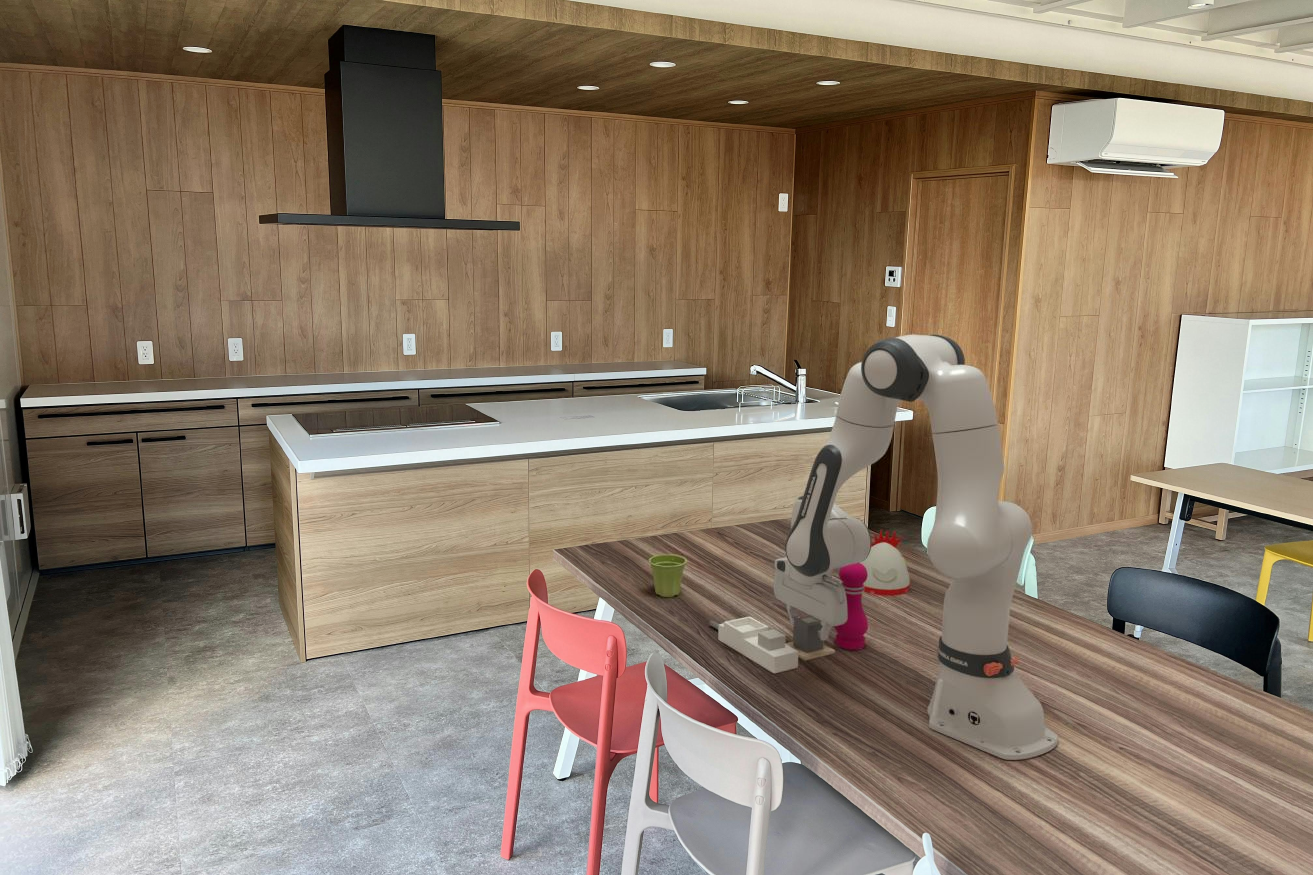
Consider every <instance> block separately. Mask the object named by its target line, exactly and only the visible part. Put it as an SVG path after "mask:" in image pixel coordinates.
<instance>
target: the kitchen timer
mask: <svg viewBox="0 0 1313 875" xmlns="http://www.w3.org/2000/svg"><path fill="white" fill-rule="evenodd" d="M879 531H880V532H879V535H878V536H877V535H876V533H874V534H873V536H874V542H873V541H872V545H871V551H870V553H869V555H868V557H867V558H866V559H865V560H864V561H862V562H859V563H861V564H863V565H864V566H865V568H866V569H867V574H868V576H867V580H866V581H865V582H864V583H863V584H864V586H865V587H864V592H863V593H866V594H870V595H875V596H882V597H883V596H884V597H886V596H889V597H891V596H892V597H893V596H900V595H904V594H906V593H908V592H909V591H910V586H911V585H910V584H911V580H910V575H909V571H908V566H907V562H908V561H907V560H906V558H904V556H903V555H902V553H901V552H900V550H899V549H898V548H897V547H898V545H899V543H900V541H901V539H902V535H900V536H899V537H898V538H897V539H896V536H897V535H896V531H893V533H892V536H891V538H890V535H889V531H888V530H886V532H885V536H884V534H883V529H880V530H879Z"/></svg>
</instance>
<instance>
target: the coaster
mask: <svg viewBox="0 0 1313 875" xmlns="http://www.w3.org/2000/svg"><path fill="white" fill-rule="evenodd" d="M785 644H786V645H788V646H790V647H792V648H793V649H795V650H797V651H798V658H800V659H801V660H803V661H809V660H812V659H813V660H814V659H818V658H820V657H824V656H828V655H833V654H835V653H836V650H835V649H833V648H831V647H830V646H828V645H826V644H823V649H822V650H818V651H814V652H810V653H805V652H803V651H802V650H800V649H798V648H796V647H794V646H793V641H790V642H785Z"/></svg>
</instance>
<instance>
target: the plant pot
mask: <svg viewBox="0 0 1313 875" xmlns="http://www.w3.org/2000/svg"><path fill="white" fill-rule="evenodd" d="M687 560H688V559H687V558H686V557H684V556H681V555H677V554H657V555H654V556H652V557H650V558H649V559H648V563H649V564H650V568H651V571H652V577H653V584H654V585H653V586H654V590H655V591H654V592H655V594H656V595H659V596H660V597H663V598H672V597H674V596H679V595H680V593H681V586H682V581H683V574H684V569H685V567H686V565H687Z"/></svg>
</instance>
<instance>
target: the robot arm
mask: <svg viewBox="0 0 1313 875" xmlns="http://www.w3.org/2000/svg"><path fill="white" fill-rule="evenodd" d="M916 400H920V401H921V402H923V404H924V405H925V406H926V408H927V411H928V413H929V419H930V427H931V428H930V429H931V433H932V435H931V436H932V442H933V448H934V454H935V462H936V470H937V473H936V474H937V495H936V506H935V515H934V523H933V526H932V529H931V532H930V533H929V536H928V538H927V543H926V550H927V554H928V558H929V560H930V562H931V564H932V566H934V568H935V569H936V570H937V571H939V572H940V573H941V574H942V575H945V576H946V577H949V578H952V580H951V583H950V585H949V587H948V588H947V591H946V592H945V594H944V598H943V611H942V612H943V613H942V625H941V626H942V627H941V635H940V637H939V640H938V646H937V660H939V662H938V663H939V664H938V669H937V677H936V681H935V684H934V689H933V693H932V696H931V699H930V701H929V704H928V707H927V710H926V712H927V715H928V717H929V720H928V728H930V729H931V730H934V731H936V732H938V733H940V734H943V735H945V736H948V737H950V738H953V739H955V740H957V741H959V742H962V743H964V744H966V745H968V746H971V747H974V748H976V749H979V750H981V751H983V752H986V753H988V754H991V755H993V756H995V757H997V758H1000V759H1003V760H1006V761H1007V760H1008V761H1009V760H1010V761H1011V760H1015V761H1016V760H1017V761H1019V760H1026V759H1031V758H1034V757H1038V756H1040V755H1043V754H1045V753H1048V752H1050V751H1052V750H1053V749H1055V748H1056V747H1057V745H1058V743H1059V735H1058V734H1057V733H1056V732H1054V731H1052V730H1051V729H1049V728H1048V727H1047V726H1045V714H1044V708H1043V706H1042V703H1041V702H1040V700H1039V699H1038V698H1036V696H1035V695H1034V693H1033V692H1032V691H1031V690H1030V689H1029V688H1028V686H1027V685H1026V684H1025V683H1024V682H1023V680H1022V679H1021V677H1020V676H1018V674H1017V673H1016V672H1015V666H1014V665H1018V664H1020V661H1019V660H1020V659H1021V658H1020V657H1019V656H1018V657H1014V658H1012V653H1011V651H1010V647H1009V645H1008V636H1009V635H1008V634H1009V624H1010V612H1011V606H1012V599H1013V596H1014V591H1015V588H1016V585H1017V582H1018V580H1019V579H1018V578H1019V574H1020V571H1021V567H1022V563H1023V558H1024V554H1025V552H1026V549H1027V547H1028V544H1029V542H1030V541H1031V538H1032V536H1033V525H1032V521H1031V518H1030V515H1029V514H1028V513H1027V512H1026V510H1024V508H1022V507H1021V506H1019V505H1018V504H1016V503H1014V502H1010V501H1006V500H1005V501H1004V500H999V495H1000V487H1001V481H1002V478H1003V475H1004V471H1005V461H1004V460H1005V459H1004V455H1003V448H1002V442H1001V441H1002V440H1001V435H1000V428H999V422H998V415H997V410H996V407H995V403H994V400H993V395H992V392H991V389H990V386H989V383H988V381H987V379H986V376H985V374H984V372H982V370H980V369H979V368H978V367H975V366H971V365H968V364H966V359H965V355H964V352H963V350H962V347H961V346H960V345H959V343H957V342H956V341H955V340H953V339H952V338H950V337H948V336H945V335H942V334H928V335H927V334H925V335H923V334H922V335H921V334H913V333H912V334H906V335H900V336H896V337H888V338H884V339H882V340H879V341H877V342H876V343H874V344H872V345H871V346H870V347H869V348H868V349H867V350H866V351H865V353H864V354H863V356H862V360H861V361H860V362H857V363H855V364H854V365H853V366H852V367H851V368H850V369H849V370H848V372H847V375H846V378H845V380H844V383H843V386H842V389H841V391H840V396H839V400H838V404H837V407H836V408H837V409H836V415H835V418H834V423H833V426H832V429H831V432H830V433H829V436H828V438H827V440H826V442H825V444H824V445H823V446H822V447H821V450H820V451H819V452H818V453H817V455H816V457H815V459H814V461H813V464H812V466H811V471H810V473H809V476H808V479H807V484H806V486H805V490H804V493H803V495H801V496H799V497H797V499H795V501H794V504H793V506H792V513H791V520H790V521H791V522H790V524H791V525H790V530H789V531H788V535H787V537H786V539H785V540H786V541H785V556H786V557H782V558H777V559H775V560H774V568H775V569H776V570H775V571H774V579H773V592H774V596H775V597H776V599H777V600H779V601H780V602H783V603H784V604H786V605H785V606H786V610H787V614H788V617H789V625H791V626H794V619H797V618H801V617H800V616H799V614H798V610H799V611H801V612H803V613H805V614H807V615H808V616H810V615H811V616H813V617H815V618H817V619H819V620H821V625H823V627H822V629H821V630H819V631H818V633H817V634H818V636H817V637H818V638H819V639H821V640H822V641H827V640H829V636H830V635H829V632H830V631H831V629H832V628H833V627H834V626H838V625H842V624H844V623H845V622H846V621H847V599H846V593H845V589H844V588H843V586H842V585H841V583H842V581H841V580H840V581H839V580H838V579H835V578H833V571H834V570H836V569H840V568H842V567H845V566H848V565H853V564H856V563H859V562H862V561H864V560H865V559H866V558H867V557H868V555H869V553H870V551H871V545H872V542H873V541H872V536H871V535H872V534H871V531H870V529H869V527H868V526H867V525H866V523H865V522H864V521H862V520H861V519H860V518H857V517H854V516H851V515H850V514H848V513H847V512H846V511H844V510H843V509H842V508H840V507H839V506H838V505H837V503H836V502H835V501H836V498H837V495H838V492H839V491H840V489H841V487H842V486H843V485H844V484H845V482H846V481H848V480H849V479H850V478H851V477H854V475H856V474H857V473H858V472H860V471H862V470H863V469H866V468H867V467H869V466H871V465H873V464H875V463H876V462H878V461H879V460H880V459H881V458H882V457H883V456H884V455H885V454H886V452H887V451H888V448H889V446H890V444H891V440H892V438H893V433H894V428H895V423H896V422H895V421H896V418H897V417H896V416H897V411H898V407H899V404H900V402H901V401H903V402H909V403H913V402H915V401H916Z"/></svg>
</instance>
